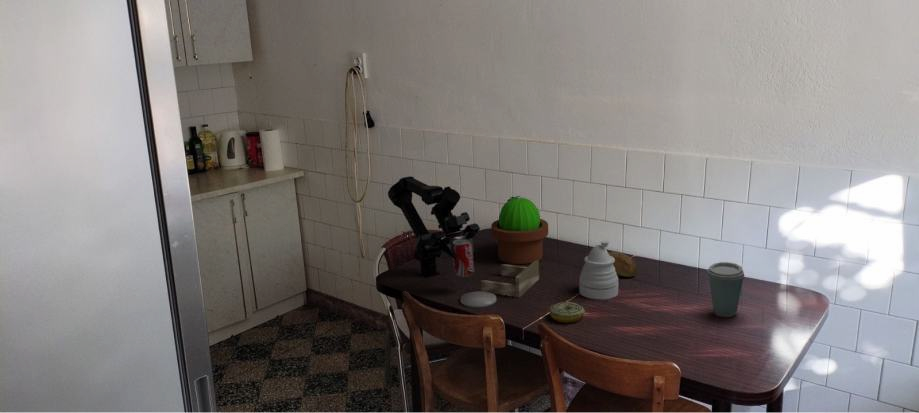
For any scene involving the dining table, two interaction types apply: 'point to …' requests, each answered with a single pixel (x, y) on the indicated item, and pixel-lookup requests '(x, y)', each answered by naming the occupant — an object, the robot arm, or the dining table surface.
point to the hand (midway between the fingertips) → (464, 256)
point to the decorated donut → (566, 312)
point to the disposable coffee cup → (725, 287)
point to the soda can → (463, 258)
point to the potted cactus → (519, 232)
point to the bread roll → (623, 264)
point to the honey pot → (599, 274)
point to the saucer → (478, 299)
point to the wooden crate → (523, 278)
